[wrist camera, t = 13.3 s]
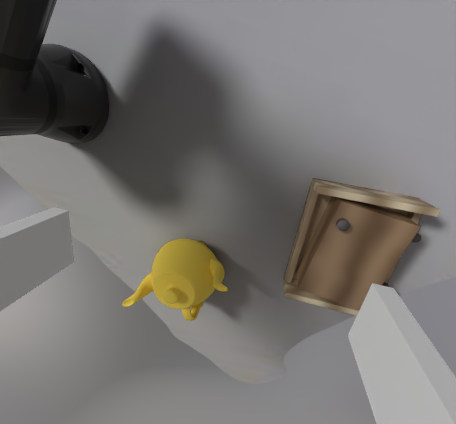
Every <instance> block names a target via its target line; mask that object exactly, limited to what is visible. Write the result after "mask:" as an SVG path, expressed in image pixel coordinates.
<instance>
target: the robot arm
mask: <svg viewBox="0 0 456 424" xmlns="http://www.w3.org/2000/svg"><path fill="white" fill-rule="evenodd" d="M56 1H57V0H0V136H11V135H27V134H38V135H41V136H45V137H48V138H52V139H55V140H58V141H62V142H67V143H78V142H86V141H89V140H92V139H93V138H95V137H96V136H97V135H99V133H100V132H101V131H102V130H103V128H104V126H105V124H106V121H107V117H108V110H109V103H108V95H107V91H106V87H105V84H104V82H103V80H102V77H101V76H100V74H99V72H98V71H97V69H96V68H95V66H94V65H93V64H92V63H91V62H90V61H89V60H88V59H87V58H86V57H85V56H84V55H82V54H81V53H79V52H77V51H75V50H72V49H70V48H67V47H64V46H61V45H56V44H42V42H43V39H44V36H45V33H46V30H47V28H48V25H49V22H50V19H51V16H52V13H53V10H54V7H55V4H56ZM73 262H74V257H73V248H72V239H71V230H70V221H69V212H68V210H63V209H59V208H55V207H53V208H50V209H47V210H45V211H42V212H39V213H37V214H34V215H31V216H28V217H26V218H23V219H20V220H18V221H15V222H12V223H10V224H7V225H4V226H1V227H0V311H1V310H3V309H4V308H6V307H7V306H9V305H10V304H12V303H13V302H15V301H16V300H18V299H19V298H21V297H22V296H24V295H25V294H27V293H28V292H30V291H31V290H33V289H34V288H36V287H37V286H39V285H40V284H42V283H43V282H44V281H46V280H48V279H49V278H50V277H52V276H53V275H55V274H56V273H58V272H59V271H61V270H62V269H64V268H65V267H67V266H68V265H70V264H71V263H73ZM348 338H349V341H350V344H351V347H352V350H353V353H354V356H355V359H356V362H357V365H358V368H359V371H360V375H361V377H362V381H363V384H364V387H365V390H366V393H367V396H368V399H369V402H370V405H371V408H372V412H373V415H374V418H375V421H376V424H456V377H455V376H454V374H453V373H452V371H451V370H450V368H449V367H448V366H447V364H446V363H445V361H444V360H443V358H442V357H441V356H440V354H439V353H438V351H437V350H436V348H435V347H434V345H433V344H432V343H431V341H430V340H429V338H428V337H427V336H426V334H425V333H424V331H423V330H422V328H421V327H420V325H419V324H418V322H417V321H416V320H415V318H414V317H413V315H412V314H411V312H410V311H409V310H408V308H407V307H406V305H405V304H404V303H403V301H402V300H401V298H400V297H399V295H398V294H397V292H396V291H395V290H394V288H390V287H386V286H382V285H378V284H374V283H372V285H371V287H370V289H369V291H368V293H367V295H366V298H365V300H364V302H363V304H362V306H361V308H360V310H359V313H358V315H357V317H356V319H355V321H354V323H353V325H352V328H351V330H350V332H349V334H348Z"/></svg>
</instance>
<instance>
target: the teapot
mask: <svg viewBox="0 0 456 424" xmlns="http://www.w3.org/2000/svg"><path fill="white" fill-rule="evenodd" d="M224 275H225V271H224V268H223V265H222V264H221V263H220V262H219V261H218V260H217V258H216V257H215V255H214V254H213V253H212V251H211V250H210V249H209V248H207V247H206V244H205V243H204V242H203V241H195V240H191V239H176V240H173V241H170V242H168V243H166V244H165V245H164V246H163V247H162V248H161V249H160V250H159V252H158V253H157V255H156V257H155V259H154V262H153V266H152V272H151V273H150V274H148V275H147V276H146V277H145V278H144V280H143V281H142V282H141V284H140V286H139V287H138V289H137V290H136V292H135V293H134V294H133V295H132V296H131V297H130V298H128V299H127V300H125V301H124V302H123V303H122V306H125V307H126V306H130V305H132V304H134V303H136V302H137V301H139V300H140V299H142V298H143V297H144V296H146V295H147V294H149V293H150V292H152V291H154V293H155V295H156V296H157V298H158V299H159V300H160V301H161V302H162V303H163V304H165V305H166V306H168V307H171V308H174V309H182V313H183V316H184V318H185V319H186V320H189V321H192V320H194V319H196V317H197V315H198V312H199V308H200V307H202V306H203V304H204V300H206V299H207V298H208V297H209V296H210V295H211V294H212V293H213V292H214V290H215V289H217V290H218V291H222V292H226V291H228V288H227V287H226V286H224V285H223V284H222V281H223V279H224ZM190 307H192V309H191V310H190Z"/></svg>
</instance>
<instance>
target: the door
mask: <svg viewBox="0 0 456 424" xmlns="http://www.w3.org/2000/svg"><path fill="white" fill-rule="evenodd" d="M420 228H421V227H420V226H419V225H418V224H416V223H415V222H413V221H412V220H411V219H409V218H408V217H407V216H405V215H404V214H401V213H398V212H395V211H392V210H389V209H386V208H382V207H379V206H376V205H373V204H369V203H364V202H359V201H354V200H349V199H344V198H339V197H334V196H331V199H330V201H329V203H328V205H327V207H326V209H325V211H324V213H323V215H322V217H321V220H320V222H319V224H318V226H317V228H316V230H315V232H314V234H313V236H312V238H311V241H310V243H309V245H308V247H307V249H306V251H305V253H304V255H303V257H302V260H301V262H300V264H299V266H298V268H297V270H296V276H297V285H298V289H301V290H304V291H307V292H309V293H312V294H315V295H318V296H321V297H323V298H326V299H329V300H332V301H335V302H337V303H340V304H343V305H346V306H349V307H351V308H354V309H357V310H360V308H361V306H362V304H363V302H364V300H365V298H366V295H367V293H368V291H369V289H370V287H371V285H372V283H374V284H378V285H382V284H383V283H384V281H385V280H386V278H387V277H388V275H389V274H390V272H391V271H392V269H393V268H394V266H395V265H396V263H397V262H398V260H399V259H400V257H401V256H402V254H403V253H404V251H405V250H406V248H407V247H408V245H409V244H410V243H411V241H412V240H413V238H414V237H415V235H416V234H417V232H418V231H419V229H420Z"/></svg>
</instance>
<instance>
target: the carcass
mask: <svg viewBox="0 0 456 424" xmlns="http://www.w3.org/2000/svg"><path fill="white" fill-rule="evenodd" d="M331 196H334V197H339V198H344V199H349V200H354V201H359V202H364V203H369V204H373V205H376V206H379V207H382V208H386V209H389V210H392V211H395V212H398V213H401V214H404V215H405V216H407V217H408V218H409V219H411V220H412V221H413V222H415V223H416V224H418V222H419V220H420V218H421V216H422V214H425V215H430V216H435V217H437V216H438V214H439V213H440V211H441V210H440V209H438V208H436V207H434V206H432V205H430V204H429V203H427V202H425V201H423V200H421V199H419V198H415V197H410V196H405V195H399V194H394V193H389V192H383V191H378V190H373V189H368V188H362V187H357V186H352V185H346V184H341V183H336V182H330V181H325V180H320V179H315V178H313V179H312V183H311V186H310V190H309V193H308V197H307V200H306V203H305V207H304V210H303V214H302V217H301V221H300V224H299V227H298V231H297V234H296V238H295V241H294V245H293V248H292V251H291V255H290V258H289V262H288V265H287V269H286V272H285V275H284V297H287V298H291V299H295V300H298V301H302V302H306V303H310V304H314V305H318V306H322V307H326V308H329V309H333V310H337V311H341V312H345V313H349V314H353V315H358V313H359V310H357V309H354V308H351V307H349V306H346V305H343V304H340V303H337V302H335V301H332V300H329V299H326V298H323V297H321V296H318V295H315V294H312V293H309V292H307V291H304V290H301V289H298V285H297V276H296V270H297V268H298V266H299V264H300V262H301V260H302V257H303V255H304V253H305V251H306V249H307V247H308V245H309V243H310V241H311V238H312V236H313V234H314V232H315V230H316V228H317V226H318V224H319V222H320V220H321V217H322V215H323V213H324V211H325V209H326V207H327V205H328V203H329V201H330V199H331ZM420 239H421V236H420V235H419V234H418V233H417V234H416V235H415V237H414V238H413V240H412V241H411V242H418V241H419V240H420ZM400 258H401V257H400ZM399 260H400V259H399ZM399 260H398V262H399ZM398 262H397V263H396V265H395V266H394V268H393V269H392V271H391V272H390V274H389V275H388V277H387V278H386V280H385V281H384V283H383V284H382V286H386V287H389V285H388V282H389V280H390V278H391V276H392V274H393V272H394V270H395V268H396V266H397V264H398Z"/></svg>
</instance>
